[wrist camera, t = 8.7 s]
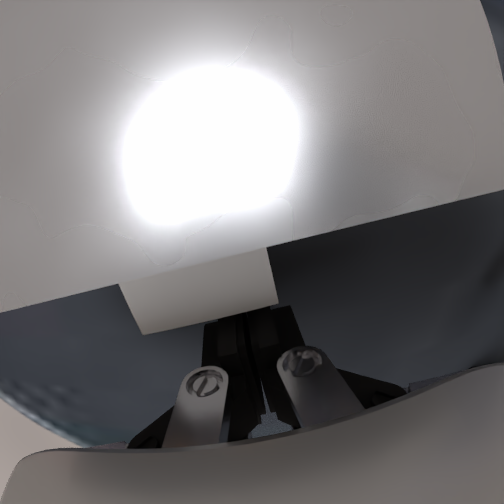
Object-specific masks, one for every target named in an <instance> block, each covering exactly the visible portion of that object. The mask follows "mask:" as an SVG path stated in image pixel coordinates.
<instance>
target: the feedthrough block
mask: <svg viewBox="0 0 504 504" xmlns="http://www.w3.org/2000/svg"><path fill="white" fill-rule="evenodd" d="M500 190H504V83H503V78H502V73H501V68H500V64H499V60H498V56H497V52H496V48H495V44H494V41H493V37H492V34H491V31H490V28H489V25H488V22H487V19H486V16H485V13H484V10H483V8H482V5H481V2H480V0H0V313H1V312H5V311H9V310H13V309H17V308H21V307H25V306H29V305H33V304H37V303H41V302H45V301H49V300H53V299H57V298H61V297H65V296H69V295H73V294H78V293H82V292H86V291H90V290H94V289H98V288H102V287H106V286H110V285H114V284H118V283H122V282H126V281H130V280H134V279H138V278H143V277H147V276H151V275H155V274H159V273H163V272H167V271H171V270H175V269H179V268H183V267H187V266H191V265H195V264H200V263H204V262H208V261H212V260H216V259H220V258H224V257H228V256H232V255H236V254H240V253H245V252H249V251H253V250H257V249H261V248H265V247H269V246H273V245H277V244H281V243H285V242H290V241H294V240H298V239H302V238H306V237H310V236H314V235H318V234H322V233H326V232H331V231H335V230H339V229H343V228H347V227H351V226H355V225H359V224H363V223H368V222H372V221H376V220H380V219H384V218H388V217H392V216H396V215H401V214H405V213H409V212H413V211H417V210H421V209H425V208H429V207H434V206H438V205H442V204H446V203H450V202H454V201H458V200H462V199H467V198H471V197H475V196H479V195H483V194H487V193H491V192H496V191H500Z"/></svg>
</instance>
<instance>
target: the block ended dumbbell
mask: <svg viewBox="0 0 504 504" xmlns="http://www.w3.org/2000/svg"><path fill="white" fill-rule="evenodd" d="M118 284H119V286H120V288H121V291H122V293H123V295H124V297H125V299H126V301H127V304H128V306H129V308H130V310H131V312H132V314H133V316H134V318H135V320H136V322H137V324H138V326H139V328H140V330H141V332H142V334H143V335H146V334H151V333H156V332H160V331H165V330H170V329H174V328H179V327H184V326H188V325H193V324H197V323H201V322H206V321H210V320H214V319H219V318H223V317H227V316H231V315H235V314H239V313H243V312H247V311H251V310H255V309H259V308H263V307H266V306H270V305H274V304H278V303H279V302H278V298H277V293H276V289H275V284H274V280H273V275H272V271H271V267H270V262H269V258H268V253H267V249H266V247H265V248H261V249H257V250H253V251H249V252H245V253H240V254H236V255H232V256H228V257H224V258H220V259H216V260H212V261H208V262H204V263H200V264H195V265H191V266H187V267H183V268H179V269H175V270H171V271H167V272H163V273H159V274H155V275H151V276H147V277H143V278H138V279H134V280H130V281H126V282H122V283H118Z"/></svg>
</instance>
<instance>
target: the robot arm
mask: <svg viewBox="0 0 504 504" xmlns="http://www.w3.org/2000/svg"><path fill="white" fill-rule="evenodd" d="M247 316H248V318H247ZM260 378H261V379H260ZM261 382H262V385H263V389H264V392H265V395H266V399H267V402H268V405H269V408H270V412H271V413H272V412H276V414H277V417H278V420H280V421H282V422H285V423H287V424H289V425H291V429H292V431H288V432H283V433H278V434H273V435H268V436H263V437H258V438H252V433H251V431H252V430H253V429H254V428H255V427H256V426H257V425H258V424H262V422H261V416H260V415H262V414H266V410H265V404H264V398H263V391H262V385H261ZM0 504H504V363H495V364H489V365H483V366H479V367H475V368H472V369H468V370H465V371H459V372H455V373H451V374H448V375H444V376H440V377H436V378H432V379H427V380H423V381H419V382H414V383H409V386H408V387H406V388H401V387H400V386H398V385H395V384H392V383H388V382H384V381H380V380H376V379H373V378H369V377H365V376H362V375H358V374H354V373H351V372H347V371H344V370H341V369H337V368H335V367H334V365H333V364H332V362H331V361H330V360H329V358H328V357H327V355H326V354H325V353H324V352H323V351H322V350H321V349H318V348H316V347H312V346H305V343H304V341H303V338H302V335H301V333H300V330H299V327H298V325H297V322H296V319H295V317H294V314H293V311H292V309H291V306H290V305H289V306H285V307H280V308H276V309H272V310H271V309H270V306H266V307H263V308H259V309H255V310H251V311H247V314H246V312H243V313H239V314H235V315H231V316H227V317H223V318H219V319H218V322H213V323H208V324H205V326H204V337H203V351H202V366H201V368H198V369H195V370H194V371H192V372H190V373H189V374H188V375H187V376H186V377H185V378H184V380H183V382H182V383H181V387H180V390H179V393H178V396H177V399H176V402H175V405H174V406H173V407H172V408H170V409H169V410H168V411H167V412H165V413H164V414H163V415H162V416H160V417H159V418H158V419H157V420H155V421H154V422H153V423H152V424H150V425H149V426H148V427H147V428H145V429H144V430H143V431H141V432H140V433H139V434H137V435H136V436H135V437H134V438H133V439H132V440H131V441H130V443H128V444H127V443H126V442H125V441H122V442H117V443H112V444H106V445H101V446H95V447H88V448H58V449H50V450H44V451H40V452H36V453H33V454H31V455H28V456H26V457H24V458H23V459H22V460H20V461H19V462H18V464H17V465H16V467H15V469H14V470H13V472H12V474H11V476H10V478H9V480H8V482H7V485H6V487H5V490H4V492H3V495H2V498H1V501H0Z"/></svg>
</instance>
